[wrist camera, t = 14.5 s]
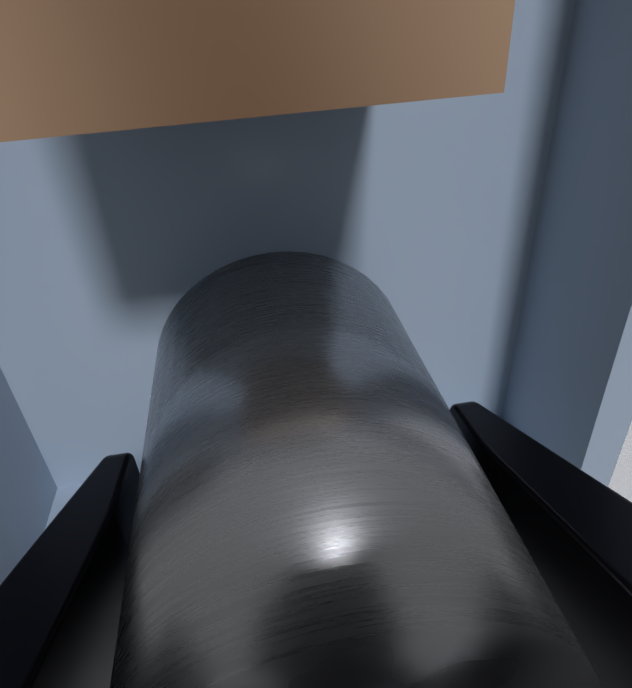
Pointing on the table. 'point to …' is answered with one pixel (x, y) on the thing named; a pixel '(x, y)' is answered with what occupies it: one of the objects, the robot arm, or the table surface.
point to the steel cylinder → (320, 506)
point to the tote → (335, 251)
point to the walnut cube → (236, 59)
